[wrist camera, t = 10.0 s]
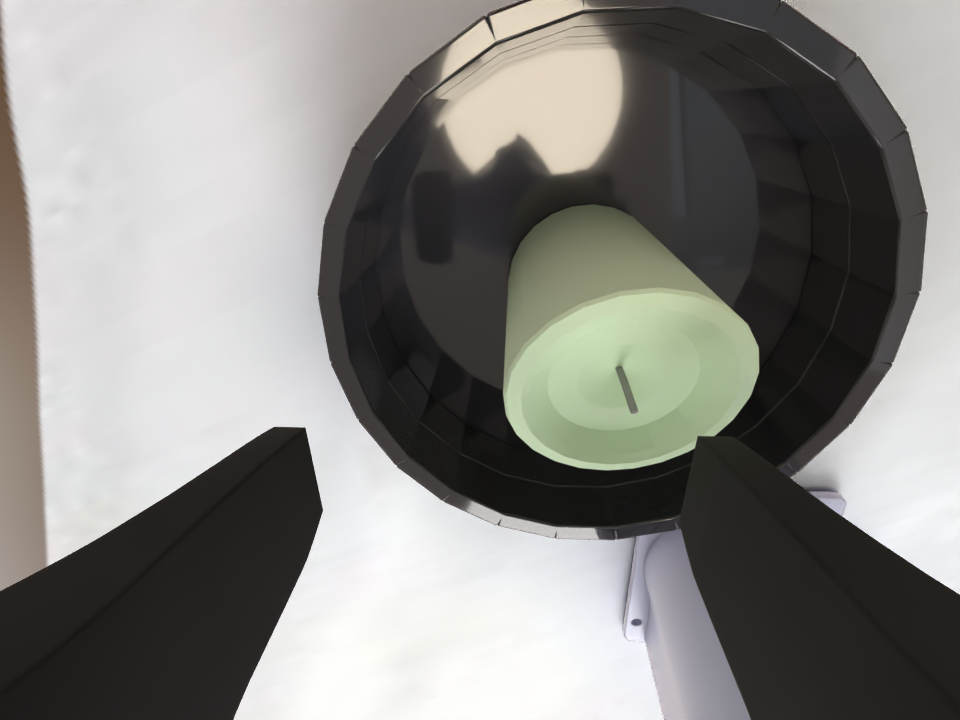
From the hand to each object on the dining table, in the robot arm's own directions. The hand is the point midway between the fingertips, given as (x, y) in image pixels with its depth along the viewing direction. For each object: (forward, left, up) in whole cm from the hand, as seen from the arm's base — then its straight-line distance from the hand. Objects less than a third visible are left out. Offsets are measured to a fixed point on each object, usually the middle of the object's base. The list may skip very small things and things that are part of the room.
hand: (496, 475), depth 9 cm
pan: (+1, -3, -9) cm, 10 cm away
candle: (+1, -3, -9) cm, 9 cm away
